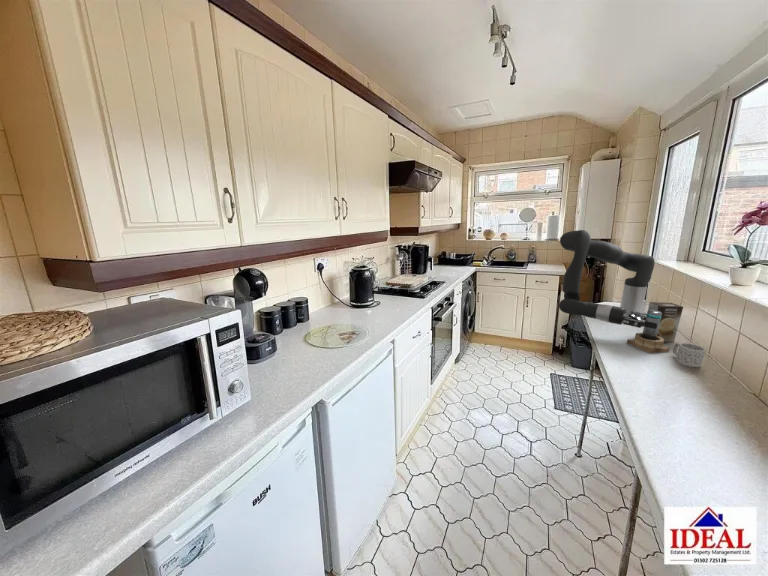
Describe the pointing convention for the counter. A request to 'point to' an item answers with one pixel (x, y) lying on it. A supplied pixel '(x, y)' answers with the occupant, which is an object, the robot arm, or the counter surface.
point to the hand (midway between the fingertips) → (658, 323)
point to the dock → (649, 350)
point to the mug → (689, 354)
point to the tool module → (655, 318)
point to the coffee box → (667, 319)
